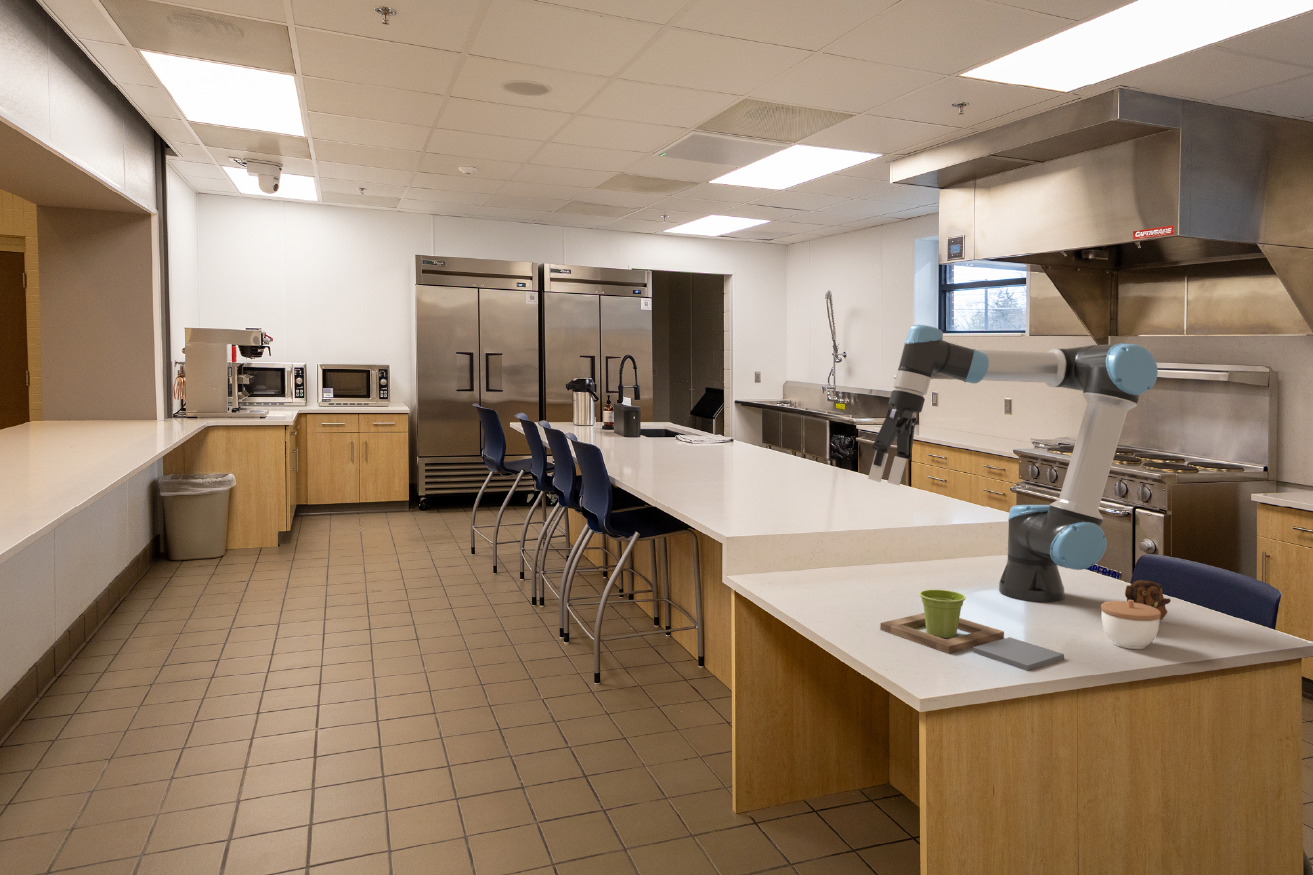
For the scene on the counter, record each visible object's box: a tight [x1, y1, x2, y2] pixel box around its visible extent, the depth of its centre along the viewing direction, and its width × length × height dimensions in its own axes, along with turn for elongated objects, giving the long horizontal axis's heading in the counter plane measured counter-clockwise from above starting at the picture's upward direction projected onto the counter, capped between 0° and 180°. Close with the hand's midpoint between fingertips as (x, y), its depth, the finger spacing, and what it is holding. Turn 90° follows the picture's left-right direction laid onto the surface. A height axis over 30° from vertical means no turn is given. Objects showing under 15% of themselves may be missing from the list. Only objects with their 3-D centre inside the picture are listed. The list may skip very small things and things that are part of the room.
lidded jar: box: [1100, 600, 1161, 650], centre depth 169 cm, size 11×11×9 cm
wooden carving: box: [1124, 579, 1171, 623], centre depth 182 cm, size 16×5×10 cm, turn 122°
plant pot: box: [919, 589, 967, 639], centre depth 176 cm, size 9×9×9 cm
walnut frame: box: [879, 612, 1005, 655], centre depth 176 cm, size 18×18×2 cm
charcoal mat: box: [972, 636, 1065, 671], centre depth 163 cm, size 12×12×1 cm
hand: (884, 482), depth 187 cm, fingers open, 13 cm apart
